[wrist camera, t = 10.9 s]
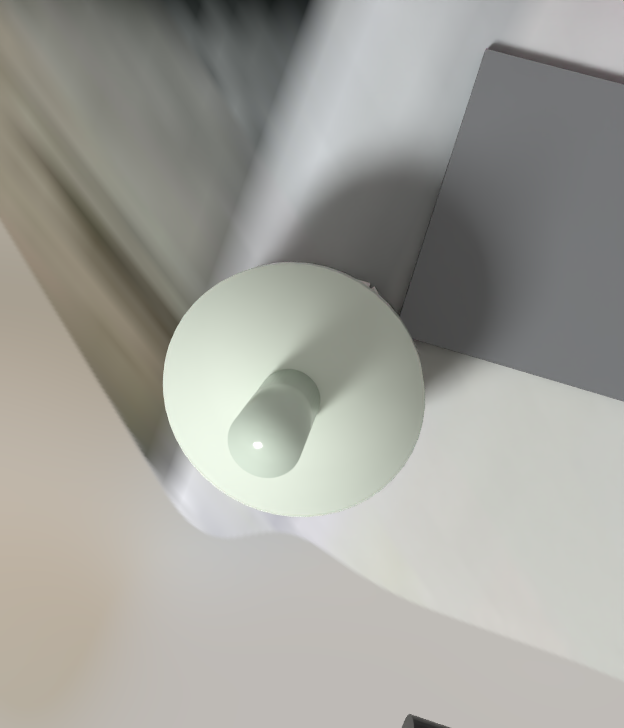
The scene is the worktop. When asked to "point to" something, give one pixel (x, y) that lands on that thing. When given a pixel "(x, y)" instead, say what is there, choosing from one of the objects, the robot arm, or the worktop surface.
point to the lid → (294, 389)
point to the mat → (530, 229)
